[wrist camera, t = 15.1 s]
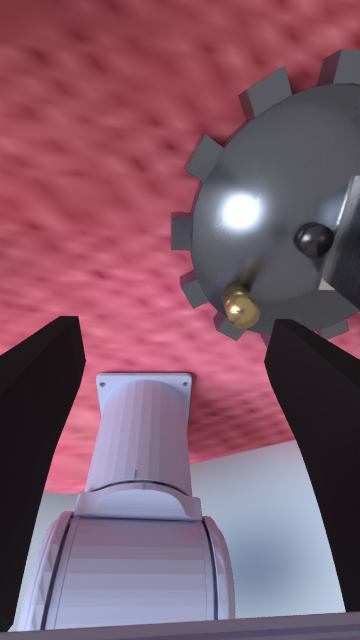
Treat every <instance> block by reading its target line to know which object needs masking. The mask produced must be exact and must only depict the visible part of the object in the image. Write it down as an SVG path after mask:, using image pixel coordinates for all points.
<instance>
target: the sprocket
mask: <svg viewBox="0 0 360 640" xmlns="http://www.w3.org/2000/svg"><path fill="white" fill-rule="evenodd" d="M239 98H240V101H241V104H242V107H243V110H244V113H245V116H246V120H247V121H246V122H245V123H243V124H242V125H241V126H240V127H239V128H238V129H237V130H236V131H235V132H234V133H233V134H232V135H231V136H230V137H229V138H228V139H227V140H226V142H225V143H224V144H223V145H222V146H220V145H219V144H218V143H216V142H215V141H214V140H213V139H211V138H210V137H209V136H208V135H206V134H204V135H202V136H201V138H200V139H199V141H198V143H197V145H196V147H195V148H194V150H193V152H192V154H191V156H190V158H189V159H188V161H187V163H186V165H185V167H184V169H185V170H186V171H188V172H189V173H190V174H192V175H193V176H195V177H196V178H198V179H199V180H200V183H199V186H198V189H197V191H196V194H195V197H194V201H193V205H192V209H191V213H172V212H171V250H190V253H191V258H192V262H193V266H194V270H193V271H191V272H189V273H187V274H185V275H183V276H181V277H180V285H181V288H182V290H183V292H184V293H185V295H186V297H187V298H188V300H189V302H190V304H191V305H192V307H193V309H194V308H196V307H198V306H200V305H202V304H204V303H206V302H208V301H210V303H211V304H212V305H213V306H214V307H215V308H216V309H217V311H219V312H218V313H217V314H216V316H215V317H214V318H213V320H214V323H215V327H216V330H217V331H219V332H221V333H223V334H224V335H226V336H228V337H230V338H232V339H234V340H236V341H237V340H238V339H239V338H240V336H241V335H242V334H243V333H244V332H245V331H246V330H247V329H248V330H251V331H254V332H257V333H261V337H262V339H263V341H264V343H265V345H266V347H267V348H268V345H269V341H270V337H271V333H272V330H273V326H274V322H275V319H292V320H294V321H296V322H298V323H300V324H302V325H303V326H305V327H307V328H308V329H310V330H312V331H317V333H318V334H319V335H320V336H321V337H323V338H324V339H326V340H328V339H330V338H332V337H335V336H337V335H340V334H342V333H345V332H347V331H349V329H348V324H347V320H346V319H347V318H348V317H350V316H352V315H354V314H355V313H357V312H359V311H360V310H359V309H358V308H357V307H355V306H354V305H353V304H352V303H351V302H349V301H348V300H347V299H346V298H344V297H343V296H342V295H341V294H340V293H338V292H337V291H336V290H335V289H334V288H332V287H331V286H330V285H329V284H328V283H326V282H325V281H326V279H327V276H328V273H329V270H330V267H331V264H332V261H333V258H334V255H335V253H336V250H337V247H338V244H339V241H340V238H341V235H342V232H343V229H344V226H345V224H346V221H347V218H348V215H349V212H350V209H351V206H352V203H353V200H354V198H355V195H356V192H357V189H358V186H359V183H360V50H350V49H341V50H339V51H337V52H335V53H334V54H332V55H330V56H328V57H327V58H325V59H324V60H323V64H322V69H321V73H320V78H319V82H318V86H317V87H314V88H310V89H307V90H305V91H302V92H299V93H296V94H294V95H292V92H291V88H290V84H289V80H288V76H287V72H286V68H285V66H283V67H281V68H280V69H278V70H277V71H275V72H274V73H272V74H270V75H269V76H267V77H266V78H264V79H263V80H261V81H260V82H258V83H256V84H255V85H253V86H252V87H250V88H249V89H247V90H246V91H244V92H243V93H241V94H240V95H239Z"/></svg>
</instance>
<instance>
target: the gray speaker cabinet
mask: <svg viewBox="0 0 360 640" xmlns="http://www.w3.org/2000/svg"><path fill="white" fill-rule="evenodd" d="M325 282H326V283H328V284H329V285H330V286H331V287H332V288H334V289H335V290H336V291H337V292H338V293H340V294H341V295H342V296H343V297H344V298H346V299H347V300H348V301H349V302H351V303H352V304H353V305H354V306H355V307H357V308H358V309H359V310H360V183H359V186H358V189H357V192H356V195H355V198H354V200H353V203H352V206H351V209H350V212H349V215H348V218H347V221H346V224H345V226H344V229H343V232H342V235H341V238H340V241H339V244H338V247H337V250H336V253H335V255H334V258H333V261H332V264H331V267H330V270H329V273H328V276H327V279H326V281H325Z"/></svg>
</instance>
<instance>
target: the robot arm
mask: <svg viewBox="0 0 360 640" xmlns="http://www.w3.org/2000/svg"><path fill="white" fill-rule="evenodd" d="M85 363H86V359H85V353H84V347H83V341H82V336H81V330H80V324H79V318H78V316H60V317H58V318H56V319H55V320H53V321H52V322H50V323H49V324H47V325H46V326H44V327H43V328H41V329H40V330H38V331H37V332H36V333H34V334H33V335H31V336H30V337H28V338H27V339H25V340H24V341H22V342H21V343H19V344H18V345H16V346H15V347H13V348H12V349H10V350H8V351H7V352H5V353H3V354H2V355H0V640H360V360H359V359H358V358H356V357H354V356H352V355H351V354H349V353H347V352H346V351H344V350H342V349H341V348H339V347H337V346H336V345H334V344H332V343H331V342H329V341H328V340H326V339H324V338H323V337H321V336H320V335H318V334H316V333H315V332H313V331H312V330H310V329H308V328H307V327H305V326H303V325H302V324H300V323H298V322H296V321H294V320H292V319H275V322H274V326H273V330H272V333H271V337H270V341H269V345H268V349H267V352H266V356H265V360H264V363H265V366H266V370H267V374H268V377H269V380H270V383H271V386H272V388H273V391H274V393H275V395H276V397H277V400H278V402H279V404H280V406H281V408H282V410H283V413H284V415H285V417H286V419H287V421H288V423H289V426H290V428H291V430H292V432H293V434H294V436H295V439H296V441H297V444H298V446H299V448H300V451H301V454H302V457H303V460H304V463H305V466H306V468H307V471H308V474H309V477H310V480H311V484H312V487H313V490H314V493H315V496H316V499H317V503H318V506H319V509H320V513H321V516H322V520H323V523H324V527H325V530H326V534H327V537H328V541H329V544H330V548H331V552H332V556H333V560H334V564H335V568H336V572H337V576H338V580H339V584H340V588H341V592H342V597H343V601H344V606H345V610H346V612H345V613H327V614H311V615H293V616H276V617H260V618H259V617H258V618H243V619H242V618H241V619H235V592H234V581H233V573H232V567H231V561H230V556H229V552H228V548H227V544H226V541H225V539H224V536H223V534H222V533H221V531H220V530H219V528H218V527H217V525H216V523H215V522H214V520H213V519H212V518H211V517H208V516H202V511H201V502H200V498H197V497H192V488H191V476H190V463H189V451H188V438H187V428H188V417H189V406H190V395H191V384H192V377H191V375H190V374H189V373H99V374H98V375H97V377H96V384H97V390H98V397H99V403H100V409H101V416H102V418H101V422H100V426H99V431H98V435H97V439H96V444H95V448H94V452H93V456H92V461H91V465H90V469H89V474H88V478H87V482H86V486H85V491H84V492H80V493H79V495H78V499H77V503H76V507H75V511H74V512H73V511H65V512H63V513H62V514H61V515H60V516H59V518H57V519H56V520H55V521H54V522H53V523H52V524H51V525H50V526H49V528H48V530H47V531H46V534H45V536H44V538H43V540H42V543H41V546H40V548H39V551H38V554H37V557H36V560H35V563H34V566H33V569H32V573H31V576H30V580H29V583H28V587H27V591H26V594H25V598H24V603H23V606H22V611H21V616H20V620H19V625H18V630H17V632H7V631H8V630H9V629H10V627H11V626H12V625H13V622H14V617H15V612H16V607H17V602H18V598H19V593H20V588H21V584H22V579H23V574H24V570H25V565H26V560H27V556H28V552H29V547H30V543H31V539H32V535H33V530H34V526H35V522H36V518H37V513H38V510H39V506H40V502H41V498H42V494H43V491H44V487H45V483H46V480H47V476H48V473H49V469H50V465H51V462H52V458H53V455H54V452H55V449H56V446H57V443H58V440H59V438H60V435H61V433H62V430H63V428H64V425H65V423H66V420H67V418H68V415H69V413H70V410H71V407H72V405H73V402H74V400H75V397H76V395H77V392H78V389H79V387H80V384H81V380H82V376H83V371H84V367H85ZM101 382H103V383H104V384H103V383H101ZM184 382H187V383H184Z"/></svg>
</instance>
